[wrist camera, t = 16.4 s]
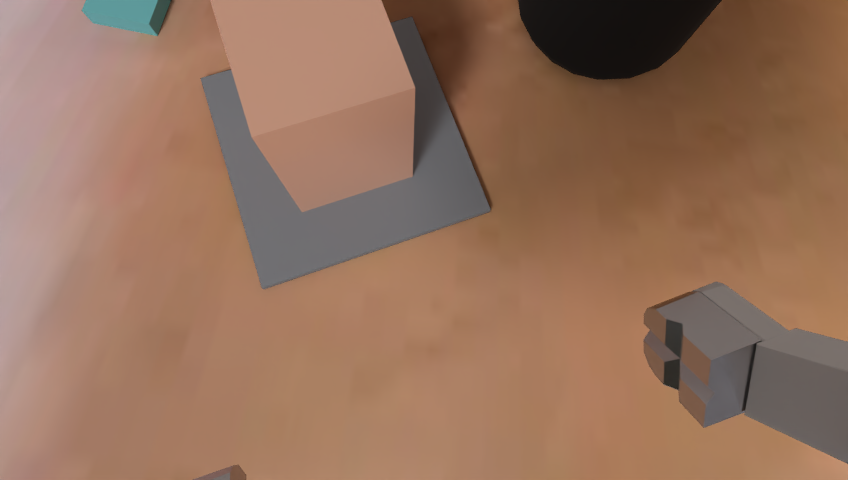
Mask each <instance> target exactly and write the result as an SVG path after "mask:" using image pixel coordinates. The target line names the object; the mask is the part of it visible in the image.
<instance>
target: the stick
mask: <svg viewBox="0 0 848 480" xmlns="http://www.w3.org/2000/svg"><path fill="white" fill-rule="evenodd" d="M170 2H171V0H86V2H85V4H84V7H83V9H82V11H83V13H84V14H85V15H86V16H87V17H88V18H89V19H90V20H91V21H92V22H93V23H95V24H100V25H105V26H110V27H115V28H120V29H125V30H130V31H135V32H140V33H145V34H150V35H155V36H158V34H159V31H160V28H161V26H162V23H163V20H164V18H165V15H166V12H167V10H168V7H169V4H170Z"/></svg>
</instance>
